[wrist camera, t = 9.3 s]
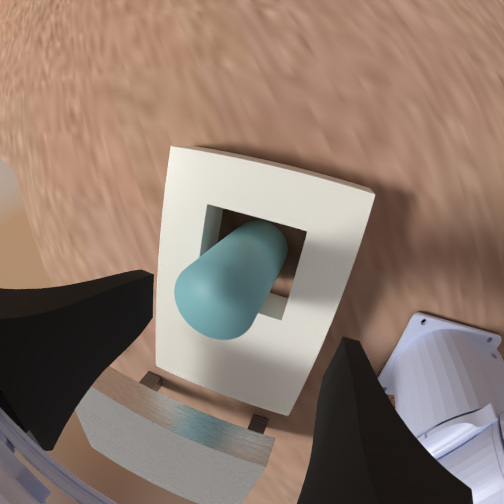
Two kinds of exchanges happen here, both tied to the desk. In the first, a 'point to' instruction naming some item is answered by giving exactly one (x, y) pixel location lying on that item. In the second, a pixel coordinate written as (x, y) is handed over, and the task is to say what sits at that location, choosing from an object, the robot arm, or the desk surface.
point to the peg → (231, 280)
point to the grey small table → (173, 440)
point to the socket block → (274, 307)
